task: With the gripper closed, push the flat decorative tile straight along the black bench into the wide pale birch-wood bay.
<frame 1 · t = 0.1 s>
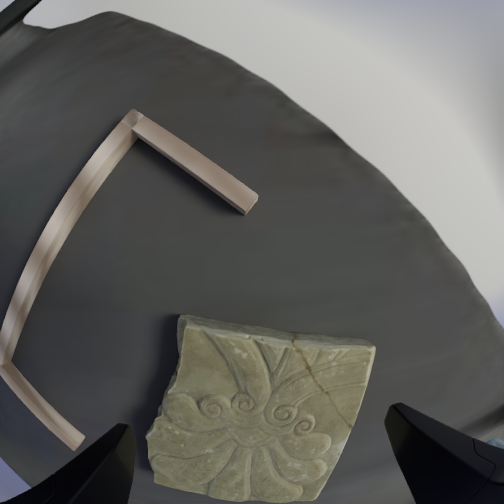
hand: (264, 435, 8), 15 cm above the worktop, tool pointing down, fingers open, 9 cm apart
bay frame: (94, 309, 22), on the worktop
decorative tile: (250, 419, 23), on the worktop
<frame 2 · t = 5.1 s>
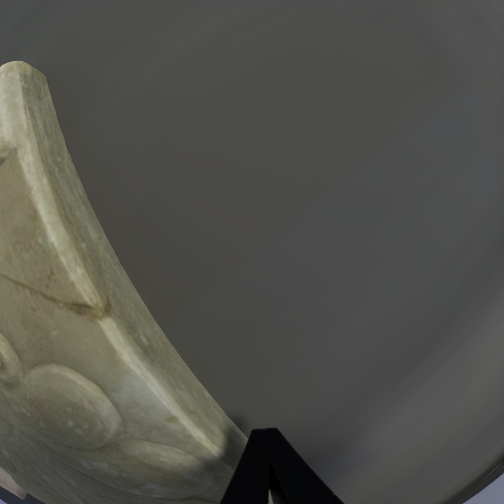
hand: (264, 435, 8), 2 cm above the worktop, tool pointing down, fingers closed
decorative tile: (27, 378, 9), on the worktop
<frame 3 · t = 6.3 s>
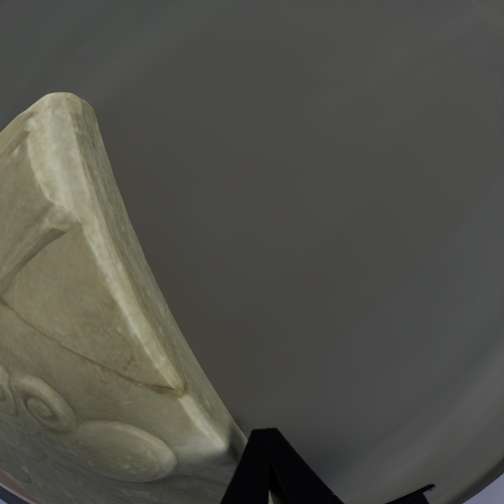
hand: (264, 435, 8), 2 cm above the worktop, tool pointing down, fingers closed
decorative tile: (52, 402, 10), on the worktop, touching gripper
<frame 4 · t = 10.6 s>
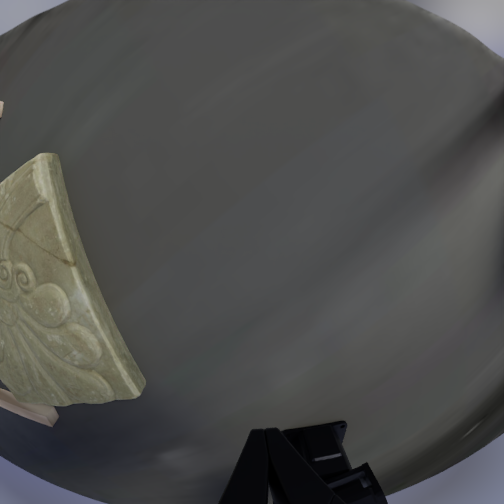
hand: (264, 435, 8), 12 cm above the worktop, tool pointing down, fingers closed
decorative tile: (29, 299, 19), on the worktop
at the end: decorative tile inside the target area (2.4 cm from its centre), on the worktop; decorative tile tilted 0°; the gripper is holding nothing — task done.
